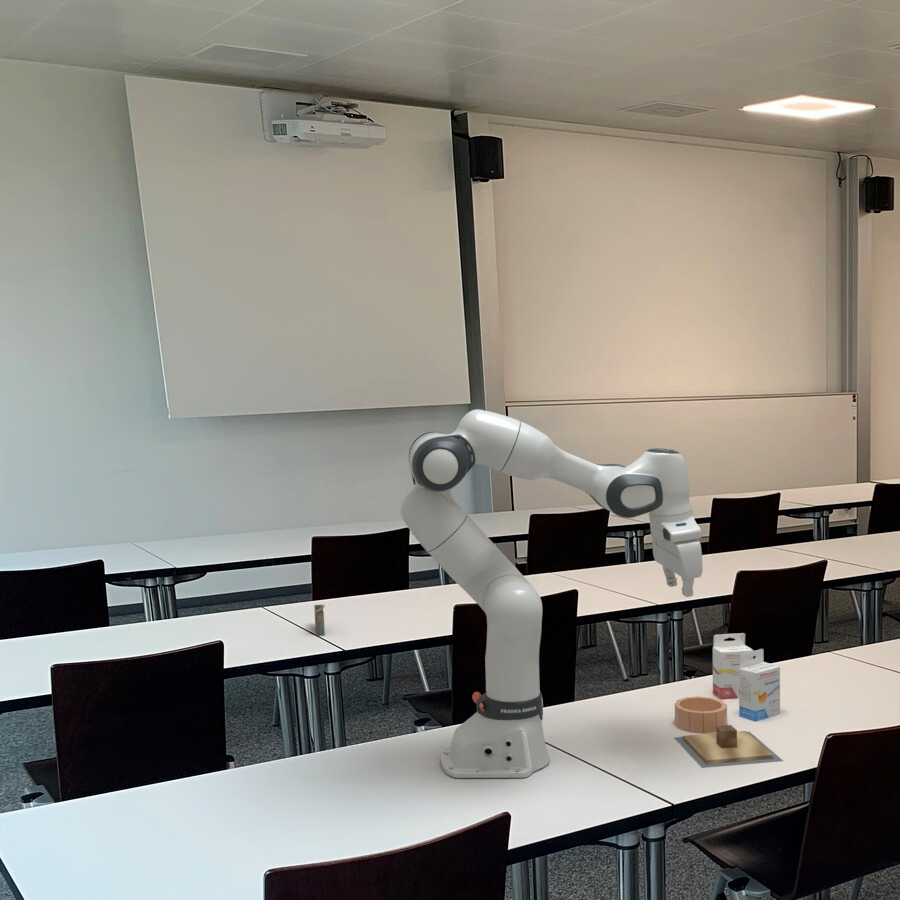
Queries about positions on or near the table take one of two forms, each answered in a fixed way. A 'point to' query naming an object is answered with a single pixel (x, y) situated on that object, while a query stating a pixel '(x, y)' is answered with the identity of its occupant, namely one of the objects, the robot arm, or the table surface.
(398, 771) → the table surface
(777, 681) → the ink box
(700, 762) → the rubber mat
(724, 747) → the oak cover
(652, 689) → the table surface
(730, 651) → the ink cartridge box
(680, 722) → the terracotta bowl
